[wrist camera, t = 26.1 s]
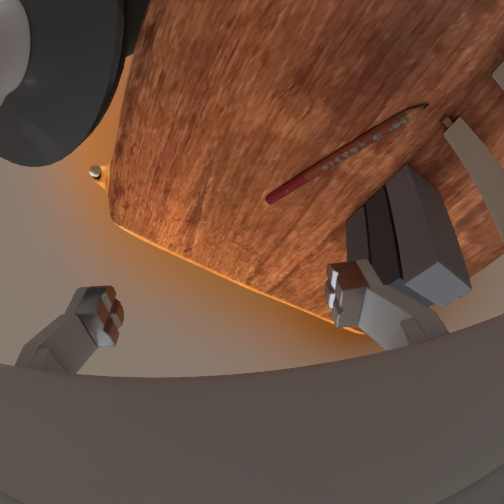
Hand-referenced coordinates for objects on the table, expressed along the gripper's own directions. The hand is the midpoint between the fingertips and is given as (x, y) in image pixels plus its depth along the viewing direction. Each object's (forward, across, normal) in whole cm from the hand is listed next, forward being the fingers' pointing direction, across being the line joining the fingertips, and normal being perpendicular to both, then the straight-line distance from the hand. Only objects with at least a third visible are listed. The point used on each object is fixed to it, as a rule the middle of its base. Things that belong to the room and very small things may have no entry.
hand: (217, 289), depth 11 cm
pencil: (+17, +11, 0) cm, 20 cm away
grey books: (+17, +17, -6) cm, 24 cm away
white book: (+12, +22, +2) cm, 25 cm away
